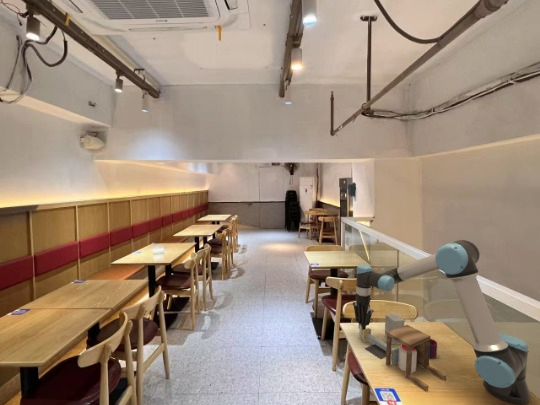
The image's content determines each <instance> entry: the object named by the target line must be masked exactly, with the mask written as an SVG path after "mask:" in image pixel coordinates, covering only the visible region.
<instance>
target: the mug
mask: <svg viewBox="0 0 540 405" xmlns="http://www.w3.org/2000/svg"><path fill="white" fill-rule="evenodd" d="M437 350H438V341H436V340H435V339H432V338H430V355H429V359H435V358H437V356H438V355H437V354H438V353H437V352H438V351H437Z"/></svg>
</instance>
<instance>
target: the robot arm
mask: <svg viewBox="0 0 540 405" xmlns="http://www.w3.org/2000/svg"><path fill="white" fill-rule="evenodd" d="M480 255H481V252H480V250H479V248H478V246H477V245H476V244H474V243H473V242H471V241H470V240H465V239H461V240H460V239H459V240H455V241H452V242H449V243H446V244H444V245H442V246H440V247H439V248H438V249H437V251H436V252H435V253H434V254H431V255H428V256H426V257H423V258H420V259H417V260H414V261H411V262H408V263H406V264H402V265H400V266H397V267H395V268H391V269H389V270H386V271H383V272H381V273H380V272H375V271H374V270H372V269H373V268H372V267H371V266H370V265H369V264H358V265H357V267H356V286H355V288H356V289H355V292H356V294H355V300H356V301H354V302H352V306H353V309H354V311H353V312H354V317H355V321H356V322H358V329H359V331H358V336H360V337H361V338H362V330H364V329H367V326H369V325H370V322H371V319H372V315H373V313H374V310H373V309H372V308H371V306H370V303H371V296H372V295H371V292H372V288H373V287H374V288H376V289H379V290H381V291H384V292H392V290H393V289H394V287H395V285H396V284H400V283H402V282H406V281H409V280H412V279H415V278H419V277H421V276H424V275H425V276H426V275H428V274H432V273H435V272H438V271H442V272H443V273H444V274H445V275H444V276H445V278H446V279H447V280H449V281H451V282H452V284H453V287H454V289H455V291H456V294H457V298H458V300H459V303H460V305H461V308H462V309H463V313H464V315H465V318H466V320H467V323H468V326H469V328H470V332H471V334H472V337H473V339H474V344H473V345H472V348H473V351H474V354H475V357H476V359H475V360H474V367H475V372H476V374H478V376H479V377H480V378H481V379H482V381H483V382H482V384H483V387H484V388H485V390H486V391H488V392H489V393H490V394H491V395H492V396H494V397H496V398H498V399H499V400H500V401H501V400H502V401H504V402H506V403H510V404H513V405H526V404H528V403H529V402H530V400H531V393H530V389H529V387H528V386H529V385H528V382H527V379H526V376H527V366H528V355H529V354H528V353H529V346H528V344H527V343H526V342H525V341H524V340H522V339H520V338H519V337H516V336H514V335H510V334H507V333H499V332H498V329H497V326H496V324H495V322H494V319H493V316H492V314H491V311H490V309H489V306H488V304H487V301H486V299H485V297H484V293H483V291H482V288H481V287H480V283H479V280H478V279H477V277H478V275H479V273H480V272H479V269H478V267H477V265H476V264H477V263H478V262H479V260H480Z"/></svg>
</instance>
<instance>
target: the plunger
mask: <svg viewBox="0 0 540 405" xmlns="http://www.w3.org/2000/svg"><path fill="white" fill-rule="evenodd" d="M371 332H372V329H371V328H370V327H366V329H364V330H362V337H361V340H363V341H367V340H368V341H369V342H371V343H372V344H373V345H374V344H376V345H377V346H379V347H380V348H382V349H384V350H385V351H386V347H387V342H386V343H385V342H384V341H382V340H380V339H379V338H377V337H375V335H372V334H371ZM398 354H399V347H396V348H394V347H392V346H391V365H395V364H398Z"/></svg>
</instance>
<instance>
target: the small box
mask: <svg viewBox="0 0 540 405" xmlns="http://www.w3.org/2000/svg"><path fill="white" fill-rule="evenodd" d="M384 320H385V321H384V338H385V339H386V340H387V332H389V331H392V330H394V329H397V328H400V327H402V326H405V321H406V320H405V319H404V318H402V317H401V316H400V315H398V314H397V313H388V314H387V313H386V314H385V319H384ZM391 345H402V343H400V342H398V341H396V340H395V339H393V338H392V344H391Z"/></svg>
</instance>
